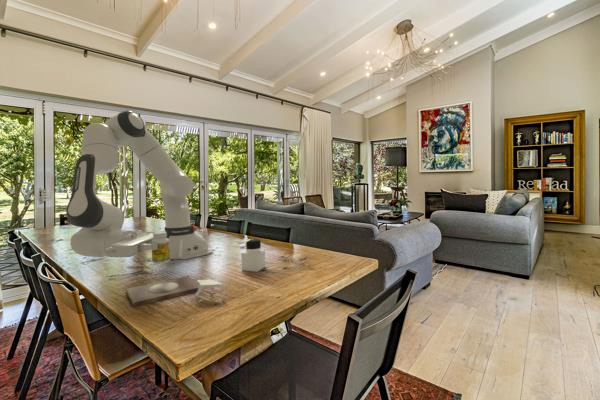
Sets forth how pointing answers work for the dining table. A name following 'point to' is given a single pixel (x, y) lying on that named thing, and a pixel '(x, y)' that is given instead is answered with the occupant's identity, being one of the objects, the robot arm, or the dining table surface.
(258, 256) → the medicine bottle
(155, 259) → the supplement bottle
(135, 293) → the walnut board
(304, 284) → the dining table surface
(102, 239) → the robot arm
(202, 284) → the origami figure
